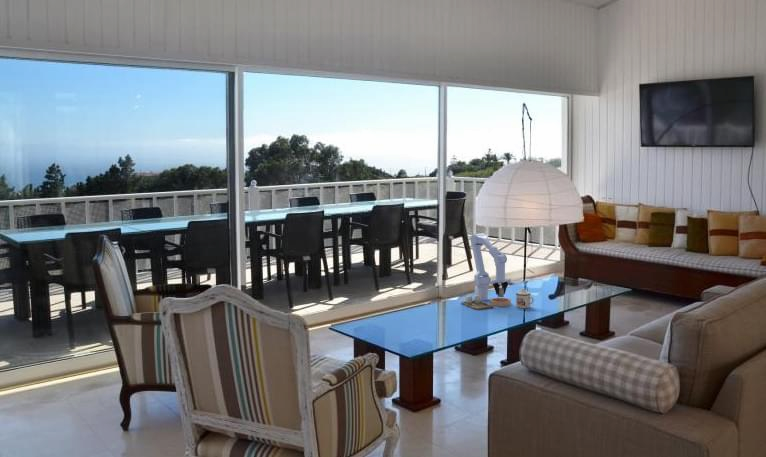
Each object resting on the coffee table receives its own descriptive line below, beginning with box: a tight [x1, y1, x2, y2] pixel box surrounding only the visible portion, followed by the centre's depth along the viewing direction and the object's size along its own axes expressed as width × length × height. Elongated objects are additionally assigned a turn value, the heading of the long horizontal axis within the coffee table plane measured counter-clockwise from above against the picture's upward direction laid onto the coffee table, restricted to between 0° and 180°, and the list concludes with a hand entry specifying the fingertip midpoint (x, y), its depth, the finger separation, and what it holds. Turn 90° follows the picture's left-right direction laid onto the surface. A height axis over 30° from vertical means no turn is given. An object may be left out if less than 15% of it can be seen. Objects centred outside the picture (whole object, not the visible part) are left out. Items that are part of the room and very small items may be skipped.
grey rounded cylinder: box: [496, 286, 505, 298], centre depth 455 cm, size 4×4×6 cm
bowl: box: [489, 297, 512, 307], centre depth 456 cm, size 13×13×3 cm
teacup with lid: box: [515, 288, 535, 309], centre depth 448 cm, size 12×9×12 cm
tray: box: [460, 300, 495, 311], centre depth 452 cm, size 20×13×2 cm, turn 23°
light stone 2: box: [473, 294, 481, 305], centre depth 457 cm, size 4×4×6 cm
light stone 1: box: [465, 295, 473, 305], centre depth 455 cm, size 4×4×6 cm
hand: (500, 294), depth 456 cm, fingers closed on grey rounded cylinder, 4 cm apart
